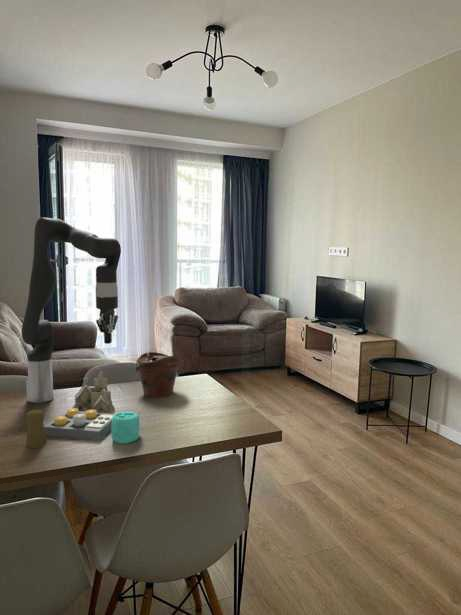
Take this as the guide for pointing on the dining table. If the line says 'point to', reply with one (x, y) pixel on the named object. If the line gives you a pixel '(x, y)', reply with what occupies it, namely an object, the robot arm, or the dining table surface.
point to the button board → (82, 427)
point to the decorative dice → (125, 427)
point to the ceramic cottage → (94, 396)
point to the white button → (79, 420)
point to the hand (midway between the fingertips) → (108, 343)
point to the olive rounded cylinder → (35, 429)
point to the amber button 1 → (60, 421)
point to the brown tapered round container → (157, 373)
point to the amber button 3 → (91, 414)
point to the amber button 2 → (72, 412)
